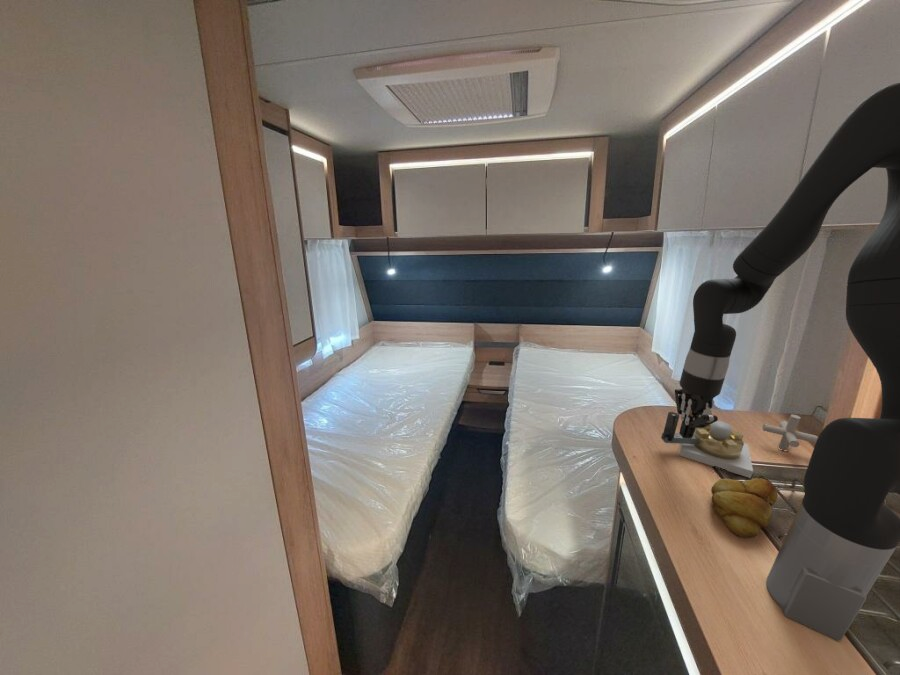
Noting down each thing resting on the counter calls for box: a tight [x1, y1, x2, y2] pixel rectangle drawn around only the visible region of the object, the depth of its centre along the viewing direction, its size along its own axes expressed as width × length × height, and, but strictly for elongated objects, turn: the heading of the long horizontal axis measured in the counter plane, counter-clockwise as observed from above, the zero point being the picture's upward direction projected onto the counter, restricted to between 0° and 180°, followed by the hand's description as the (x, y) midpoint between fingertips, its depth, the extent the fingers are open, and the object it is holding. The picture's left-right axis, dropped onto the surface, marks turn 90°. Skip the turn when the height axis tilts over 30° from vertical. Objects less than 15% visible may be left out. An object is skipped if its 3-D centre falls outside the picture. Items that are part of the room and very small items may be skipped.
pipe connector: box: [762, 414, 819, 451], centre depth 88 cm, size 10×10×10 cm
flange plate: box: [679, 420, 754, 479], centre depth 87 cm, size 12×14×8 cm
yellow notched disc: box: [660, 411, 745, 459], centre depth 86 cm, size 18×10×9 cm, turn 85°
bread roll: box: [710, 478, 778, 538], centre depth 69 cm, size 13×10×8 cm
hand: (685, 436), depth 81 cm, fingers closed
